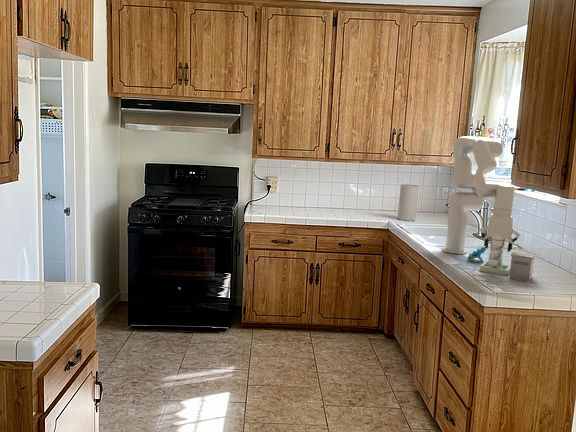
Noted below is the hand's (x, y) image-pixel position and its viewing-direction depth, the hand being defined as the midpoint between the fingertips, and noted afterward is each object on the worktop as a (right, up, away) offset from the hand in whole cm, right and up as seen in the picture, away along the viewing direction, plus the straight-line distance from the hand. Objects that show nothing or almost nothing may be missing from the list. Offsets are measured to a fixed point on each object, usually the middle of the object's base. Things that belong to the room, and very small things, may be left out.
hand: (497, 249), depth 252 cm
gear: (-3, -7, +20) cm, 22 cm away
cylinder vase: (-10, +12, +148) cm, 149 cm away
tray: (-1, -10, +1) cm, 10 cm away
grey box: (+6, -12, -10) cm, 17 cm away
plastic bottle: (-1, -9, +1) cm, 9 cm away
